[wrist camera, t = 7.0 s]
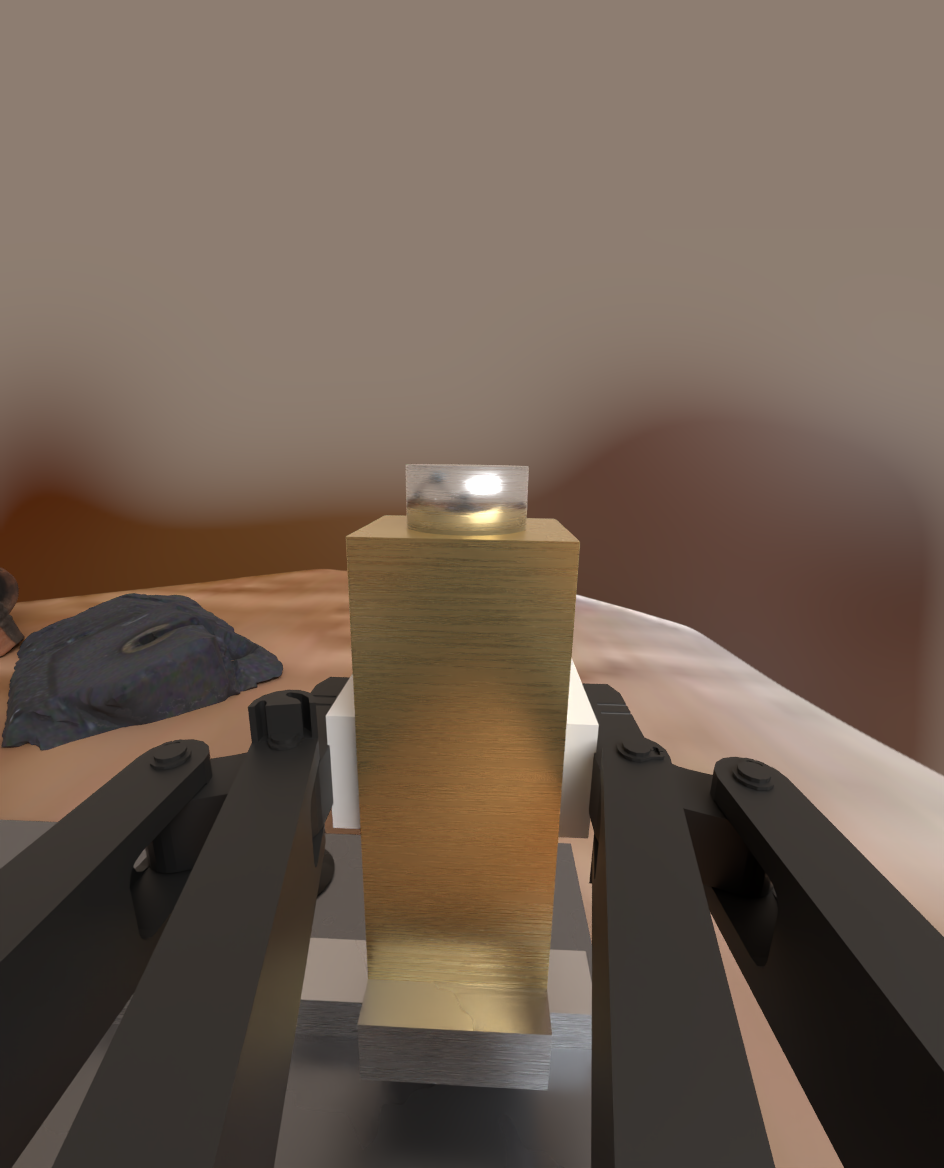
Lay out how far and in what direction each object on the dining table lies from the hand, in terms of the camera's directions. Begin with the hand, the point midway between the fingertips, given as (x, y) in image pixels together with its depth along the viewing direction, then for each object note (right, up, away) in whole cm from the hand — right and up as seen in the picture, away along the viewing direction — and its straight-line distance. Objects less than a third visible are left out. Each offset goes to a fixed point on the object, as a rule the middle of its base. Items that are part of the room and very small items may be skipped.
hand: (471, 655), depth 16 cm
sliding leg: (0, -8, -2) cm, 9 cm away
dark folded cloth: (-25, -4, +21) cm, 33 cm away
